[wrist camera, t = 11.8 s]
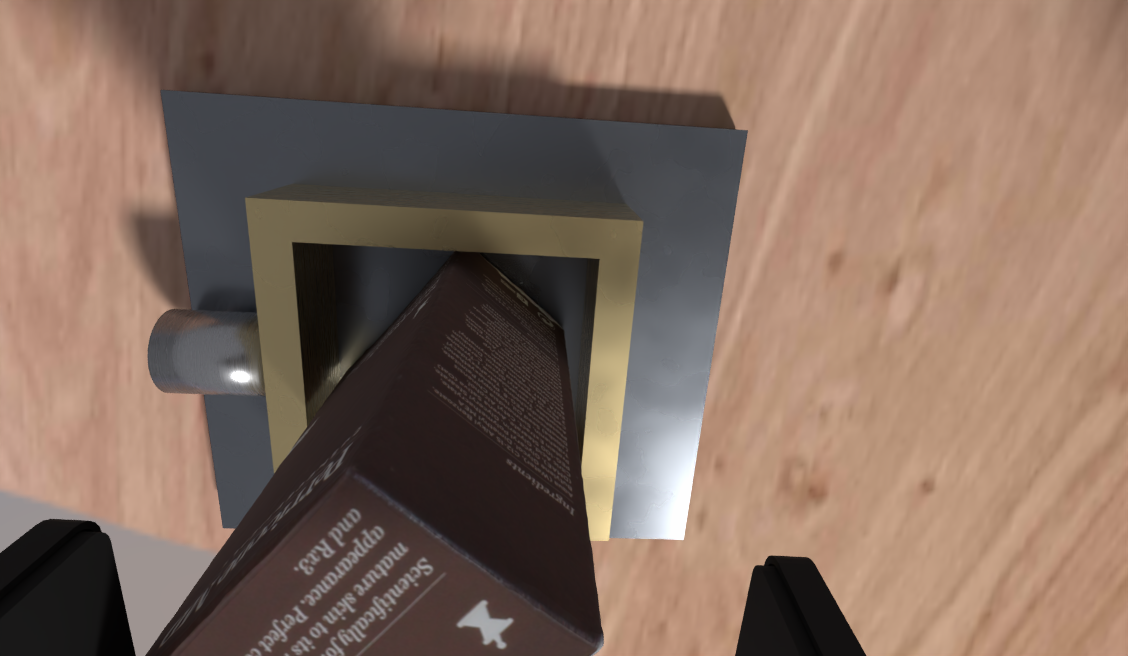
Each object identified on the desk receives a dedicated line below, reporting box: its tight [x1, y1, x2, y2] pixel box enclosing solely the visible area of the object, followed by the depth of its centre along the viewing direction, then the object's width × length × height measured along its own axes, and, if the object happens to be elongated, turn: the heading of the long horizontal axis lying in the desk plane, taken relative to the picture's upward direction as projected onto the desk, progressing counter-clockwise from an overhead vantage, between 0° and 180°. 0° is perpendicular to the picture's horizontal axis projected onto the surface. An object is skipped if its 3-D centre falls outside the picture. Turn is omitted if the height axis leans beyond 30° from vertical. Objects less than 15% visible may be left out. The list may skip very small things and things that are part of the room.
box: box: [145, 251, 604, 656], centre depth 13 cm, size 6×4×12 cm
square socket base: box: [148, 90, 748, 541], centre depth 18 cm, size 16×14×4 cm
